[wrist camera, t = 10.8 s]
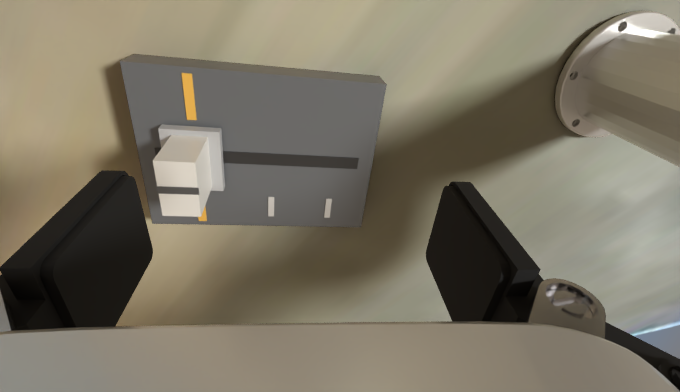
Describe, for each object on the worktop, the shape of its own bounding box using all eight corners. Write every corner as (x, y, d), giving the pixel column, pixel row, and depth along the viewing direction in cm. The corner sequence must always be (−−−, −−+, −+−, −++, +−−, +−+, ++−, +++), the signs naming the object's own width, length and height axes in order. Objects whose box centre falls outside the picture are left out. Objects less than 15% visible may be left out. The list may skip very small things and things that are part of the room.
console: (379, 76, 34) (386, 84, 32) (356, 212, 42) (361, 227, 40) (133, 53, 31) (119, 61, 28) (161, 207, 39) (152, 224, 36)
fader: (221, 128, 32) (208, 157, 26) (224, 185, 35) (213, 222, 30) (161, 124, 31) (136, 154, 26) (170, 183, 34) (149, 221, 29)
